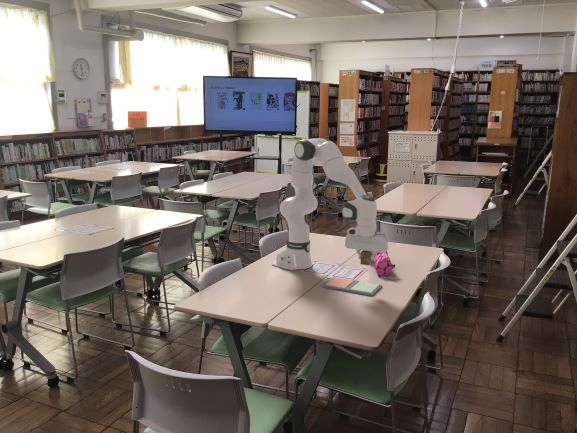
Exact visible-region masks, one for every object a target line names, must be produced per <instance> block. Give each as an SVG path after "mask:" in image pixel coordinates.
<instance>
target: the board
mask: <svg viewBox="0 0 577 433" xmlns="http://www.w3.org/2000/svg"><path fill="white" fill-rule="evenodd" d="M322 288H324V289H330V290H333V291H334V290H335V291H341V292H346V293H352V294H357V295H363V296H367V297H368V296H369V297H373V296H374V295H375V294H376V293H377V292H379V291H380V289H381V288H383V285H382V284H379V283H373V282H368V281H367V282H366V281H362V280H354V279H349V278H343V277H338V276H337V277H336V276H334V277H333V278H331V279H330V280H328V281H326V283H324V284H323V285H322Z"/></svg>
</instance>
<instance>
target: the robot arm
mask: <svg viewBox="0 0 577 433" xmlns="http://www.w3.org/2000/svg"><path fill="white" fill-rule="evenodd" d="M293 150H294V154H293V158H292V164H291V172H290V186H291V187H293V188H294V194H295V195H294V196H290V197H287V198H286V199H283V201H281V203H280V205H279V211H280V215H282V217H284V219H285V220H286V223H287V226H288V237H289V238H288V240H287V241H286V242H284V243H285V244H284V245H286V246H285V247H284V248H282V249H281V250H279V251H278V253H277V254H276V257H275V258H276V259H274V260H273V261H272V264H271V265H272V266H275V267H278V268H282V269H285V270H290V271H296V270H305V269H306V270H307V269H310V268H312V266H313V262H312V259H311V258H312V257H311V240H310V226H309V224H308V223H306V221H305V215H308V214H311V213H313V212H314V211H315V210H316V209H317V208H318V199H317V197H316V196H315V195H314V192H313V187H312V181H313V165H314V162H315V161H319V162H320V164H321V167H322V169H323V171H324V174H325V176H327V177H328V179H329V180H332V181H334V182H339V183H341V184H343V185H347V187H349V188H350V190H351V191H352V193H353V195H354V196H355V198H356V199H353V200H349V201H346V202H344V203H343V204H342V206H341V210H340V211H341V215H342V218H343V219H344V220H345V221H348V222H356V225H355V226H352V227H350V228H348V229H347V230H346V233H347V234H346V236H345V240H344V242H345V243H344V247H345V248H346V249H349V250H351V249H352V250H355V251H356V254H357V255H358V259H359V260H361V251H363V250H365V251H372V254H373V255H372V256H370V260H372V262H374V261H373V260H374V256H375V254H376V252H380V253H385V252H387V253H388V251H389V243H388V242H389V235H388V234H387V233H386V232H380V231H377V217H378V216H377V214H378V213H377V212H378V210H377V201H376V198H375V197H374V196H371V195H369V193H368V191H367V189H366V188H365V186H364V184H363V183H362V181H361V180H360V178H359V176H358V174H356V172H355V171H354V170H353V169H351V167H350V166H349V165H348V164H347V162H346V160H345V159H344V156H343V154H342V153H341V150H340V149H339V147H338V146H337V144H336V143H335V142H333V141H332V140H331V139H329V138H325V137H323V138H319V137H318V138H317V137H314V138H307V139H305V138H304V139H300V140H298V141H297V142H296V143H295V146H294V149H293Z"/></svg>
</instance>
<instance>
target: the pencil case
mask: <svg viewBox="0 0 577 433" xmlns="http://www.w3.org/2000/svg"><path fill="white" fill-rule="evenodd" d="M372 262H373V263H374V269H375V271H376V273H377V274H378V275H380V276H384V277H385V276H388V275H389V274H391V273H392V272H393V269H394V268H396V264H394V263H392V261H391V258H390V257H389V254H388V251H387V252H385V253H380V252H376V254H375V256H374V260H373V261H372Z"/></svg>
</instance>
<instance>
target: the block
mask: <svg viewBox="0 0 577 433" xmlns="http://www.w3.org/2000/svg"><path fill="white" fill-rule="evenodd" d="M360 253H361V259H360V265H364V266H370V265H371V264H372V263H373V261H372V260H370V256H372V251H365V250H361V251H360Z"/></svg>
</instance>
